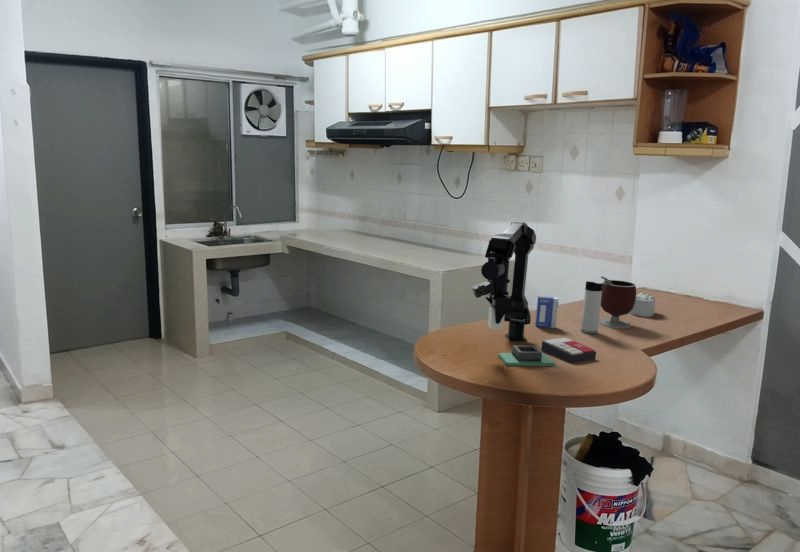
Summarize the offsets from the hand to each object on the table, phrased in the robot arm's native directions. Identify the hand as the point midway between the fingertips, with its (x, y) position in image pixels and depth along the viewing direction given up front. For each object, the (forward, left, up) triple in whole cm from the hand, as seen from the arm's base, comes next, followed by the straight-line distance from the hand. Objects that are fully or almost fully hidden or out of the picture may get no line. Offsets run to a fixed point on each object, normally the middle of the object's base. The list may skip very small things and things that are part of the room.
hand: (495, 321), depth 218 cm
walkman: (-39, +31, -12) cm, 51 cm away
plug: (0, 0, -2) cm, 2 cm away
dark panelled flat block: (-3, +27, -13) cm, 30 cm away
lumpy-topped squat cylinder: (-64, +83, -12) cm, 105 cm away
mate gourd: (-44, +61, -12) cm, 76 cm away
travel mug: (-32, +46, -12) cm, 57 cm away
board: (+4, +10, -12) cm, 16 cm away
